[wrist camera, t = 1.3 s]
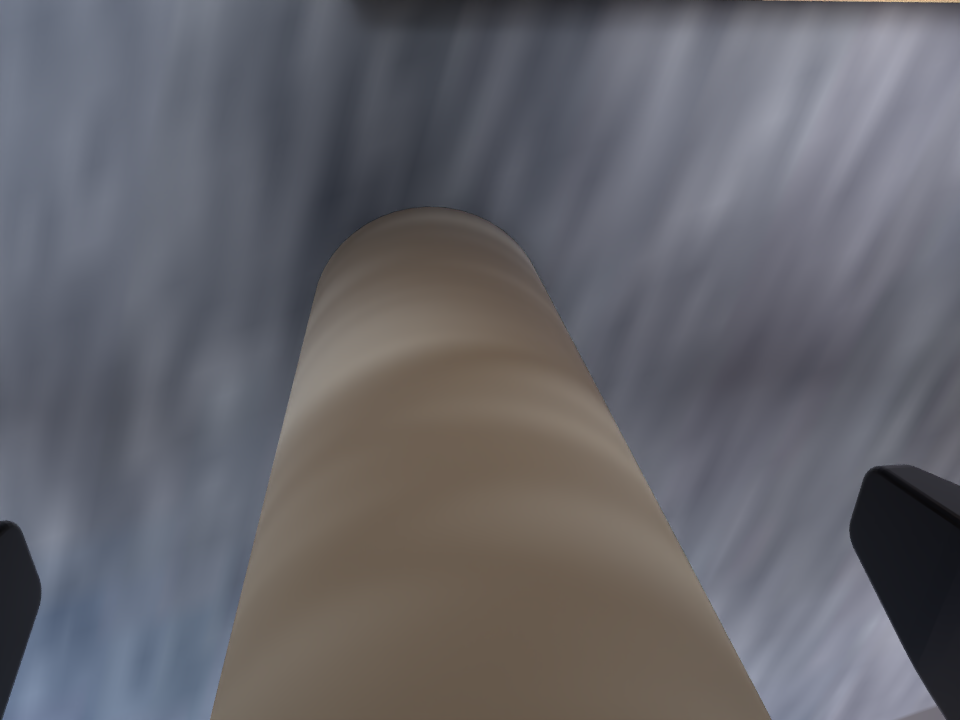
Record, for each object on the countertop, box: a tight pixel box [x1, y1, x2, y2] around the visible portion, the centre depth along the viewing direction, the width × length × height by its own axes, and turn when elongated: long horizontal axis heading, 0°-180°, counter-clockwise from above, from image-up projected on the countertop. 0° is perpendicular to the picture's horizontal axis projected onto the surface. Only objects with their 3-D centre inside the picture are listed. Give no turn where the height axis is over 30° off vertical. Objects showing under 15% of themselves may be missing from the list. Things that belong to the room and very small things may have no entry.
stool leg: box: [210, 207, 772, 720], centre depth 8 cm, size 4×4×10 cm
